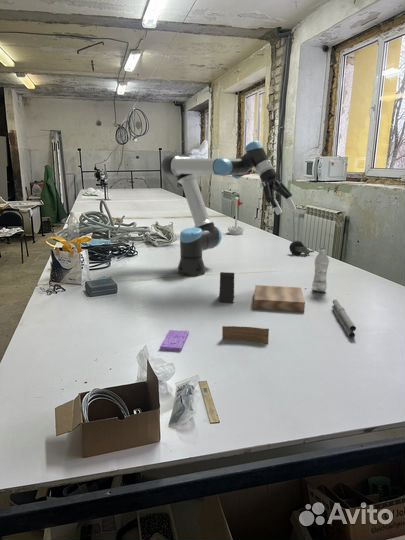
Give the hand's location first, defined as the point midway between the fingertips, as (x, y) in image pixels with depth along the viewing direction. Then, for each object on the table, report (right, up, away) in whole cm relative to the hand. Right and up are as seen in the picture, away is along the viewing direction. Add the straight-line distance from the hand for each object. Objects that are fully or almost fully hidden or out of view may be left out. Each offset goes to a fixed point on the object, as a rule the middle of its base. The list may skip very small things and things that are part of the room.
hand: (287, 211), depth 170 cm
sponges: (-48, -51, -47) cm, 84 cm away
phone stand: (-29, -40, -9) cm, 50 cm away
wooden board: (-7, -40, -13) cm, 43 cm away
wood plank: (-25, -51, -47) cm, 73 cm away
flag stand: (-12, +3, +134) cm, 134 cm away
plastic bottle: (+15, -37, 0) cm, 40 cm away
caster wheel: (+24, -17, +66) cm, 72 cm away
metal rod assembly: (+13, -47, -32) cm, 58 cm away
